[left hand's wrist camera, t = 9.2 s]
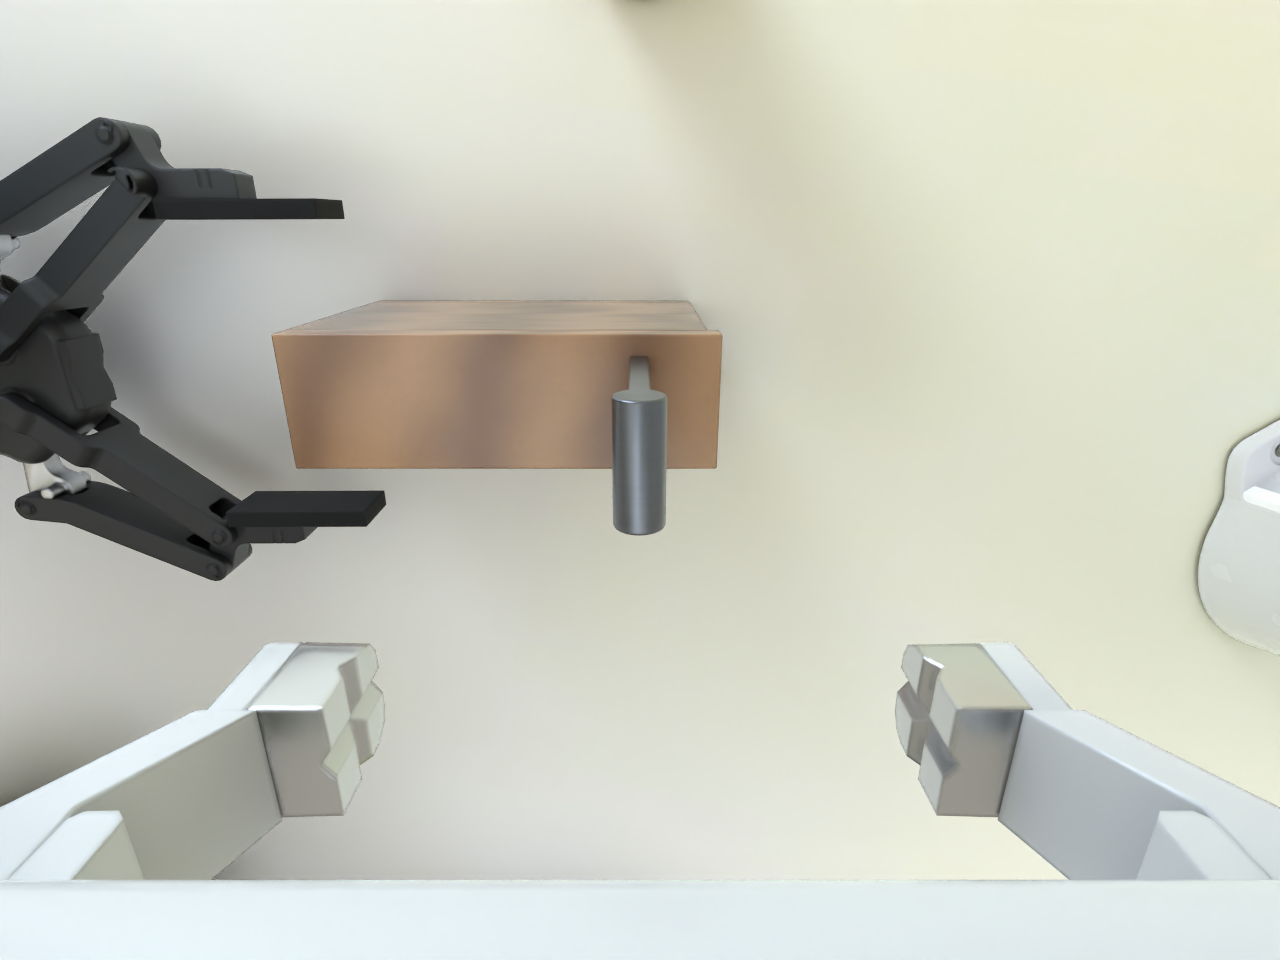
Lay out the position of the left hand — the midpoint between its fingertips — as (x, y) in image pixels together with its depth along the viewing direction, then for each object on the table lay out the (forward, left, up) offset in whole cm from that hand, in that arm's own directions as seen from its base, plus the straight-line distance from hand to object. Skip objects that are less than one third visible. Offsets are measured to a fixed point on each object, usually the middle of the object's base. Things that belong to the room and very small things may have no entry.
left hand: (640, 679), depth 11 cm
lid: (+4, -4, -18) cm, 18 cm away
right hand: (+9, -10, -22) cm, 26 cm away
